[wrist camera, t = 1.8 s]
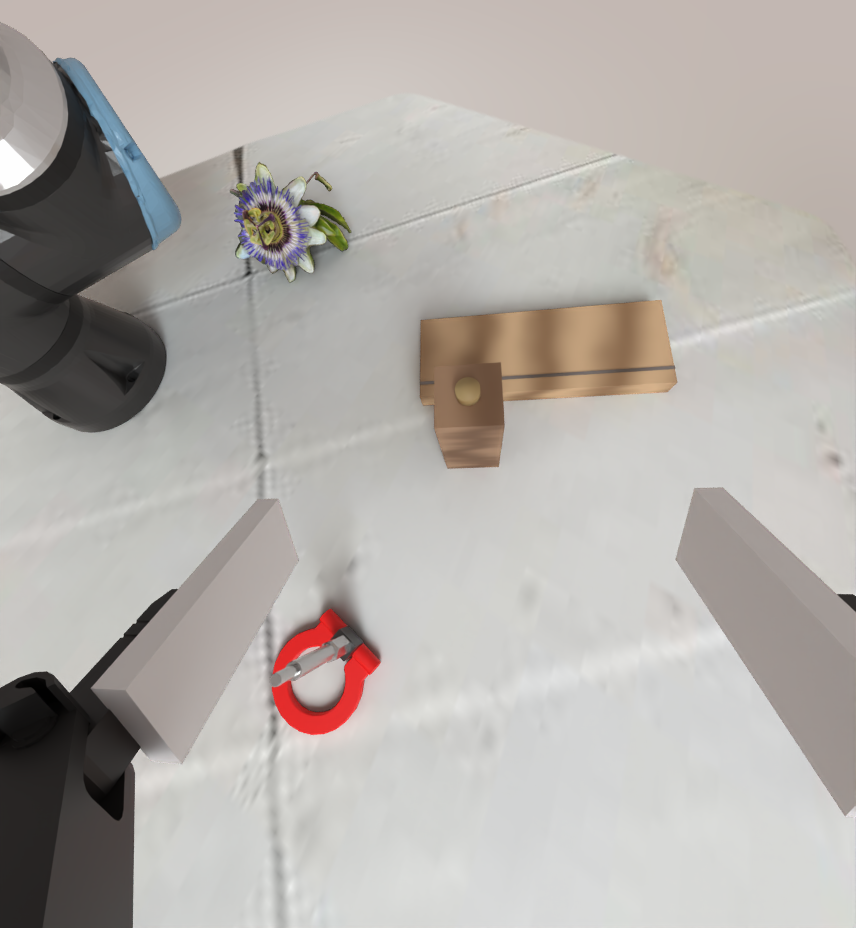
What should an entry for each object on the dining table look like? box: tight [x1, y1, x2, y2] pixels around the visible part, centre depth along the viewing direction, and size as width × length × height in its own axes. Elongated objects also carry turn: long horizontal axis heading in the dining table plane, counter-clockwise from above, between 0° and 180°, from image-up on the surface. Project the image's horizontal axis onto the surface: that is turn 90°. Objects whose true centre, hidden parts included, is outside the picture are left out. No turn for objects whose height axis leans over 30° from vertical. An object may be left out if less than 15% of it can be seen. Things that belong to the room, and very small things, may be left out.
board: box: [420, 300, 677, 405], centre depth 39 cm, size 24×9×2 cm, turn 90°
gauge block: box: [434, 362, 504, 469], centre depth 33 cm, size 5×5×12 cm
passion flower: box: [230, 162, 351, 282], centre depth 45 cm, size 11×11×12 cm
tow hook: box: [270, 609, 381, 735], centre depth 29 cm, size 8×13×9 cm
